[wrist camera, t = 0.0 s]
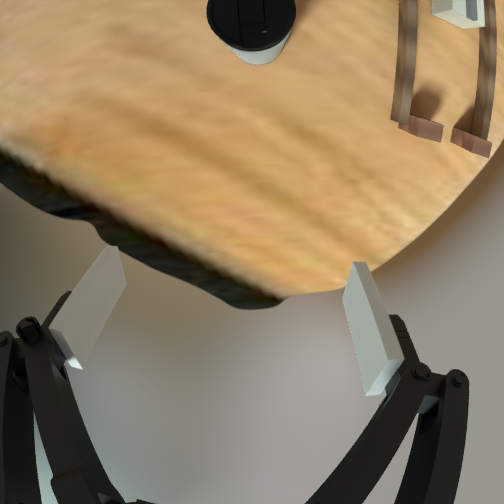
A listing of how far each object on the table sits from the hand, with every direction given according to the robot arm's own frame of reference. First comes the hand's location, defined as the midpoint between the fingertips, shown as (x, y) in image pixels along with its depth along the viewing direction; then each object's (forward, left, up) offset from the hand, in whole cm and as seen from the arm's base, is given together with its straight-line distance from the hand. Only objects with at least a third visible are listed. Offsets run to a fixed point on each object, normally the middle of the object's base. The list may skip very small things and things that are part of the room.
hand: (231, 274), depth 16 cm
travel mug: (-16, 0, -28) cm, 32 cm away
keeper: (-29, +28, -28) cm, 49 cm away
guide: (-21, +28, -28) cm, 45 cm away
